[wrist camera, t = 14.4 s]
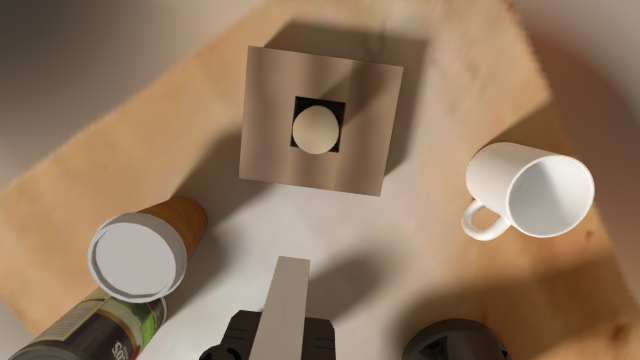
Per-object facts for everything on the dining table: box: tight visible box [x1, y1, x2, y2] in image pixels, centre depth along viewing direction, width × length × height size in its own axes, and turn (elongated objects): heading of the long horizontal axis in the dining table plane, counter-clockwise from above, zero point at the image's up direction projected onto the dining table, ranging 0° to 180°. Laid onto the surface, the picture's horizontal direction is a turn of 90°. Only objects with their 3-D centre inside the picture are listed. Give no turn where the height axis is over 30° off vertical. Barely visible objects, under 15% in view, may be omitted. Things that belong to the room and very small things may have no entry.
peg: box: [293, 105, 339, 154], centre depth 34 cm, size 4×4×12 cm
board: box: [239, 46, 404, 197], centre depth 38 cm, size 16×14×5 cm
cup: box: [461, 142, 594, 241], centre depth 37 cm, size 8×12×10 cm
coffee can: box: [8, 286, 167, 360], centre depth 40 cm, size 10×10×14 cm
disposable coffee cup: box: [87, 197, 207, 303], centre depth 38 cm, size 10×10×12 cm
